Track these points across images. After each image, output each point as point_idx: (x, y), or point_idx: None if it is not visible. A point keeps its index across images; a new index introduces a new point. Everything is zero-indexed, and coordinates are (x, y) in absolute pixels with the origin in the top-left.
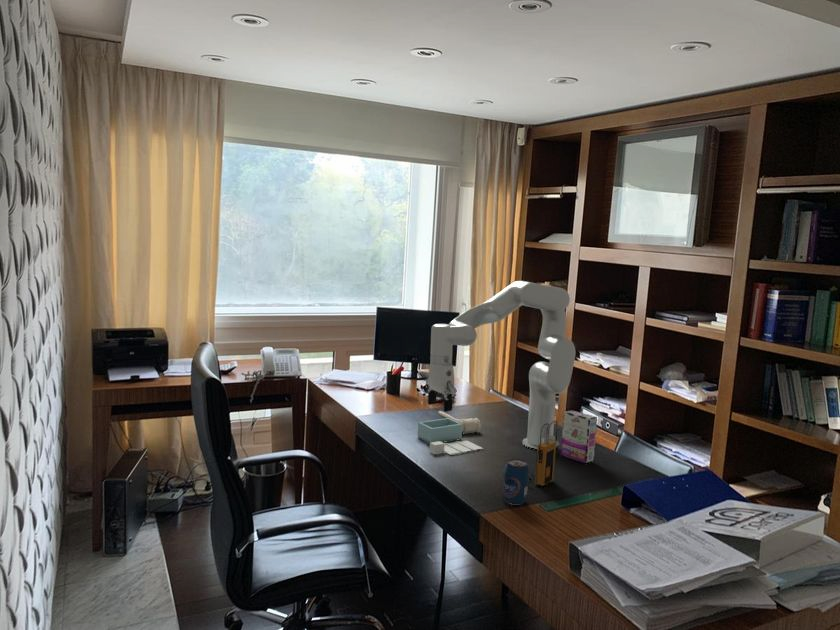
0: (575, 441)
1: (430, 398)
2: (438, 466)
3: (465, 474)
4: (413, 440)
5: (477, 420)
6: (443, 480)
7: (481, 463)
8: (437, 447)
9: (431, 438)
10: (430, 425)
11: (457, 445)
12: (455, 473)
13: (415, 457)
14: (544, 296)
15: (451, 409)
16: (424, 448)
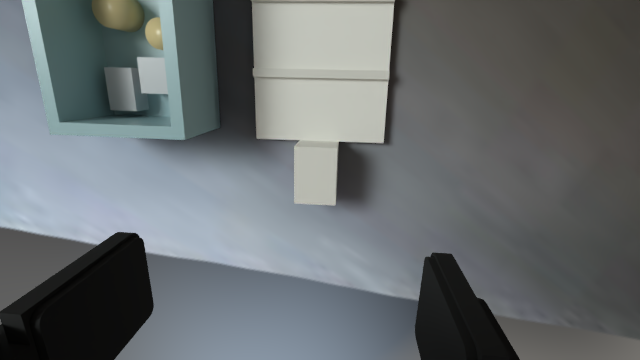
0: None
1: (108, 349)
2: (451, 252)
3: (584, 216)
4: (142, 161)
5: None
6: (568, 316)
7: (540, 68)
8: (336, 186)
9: (208, 129)
10: (67, 53)
11: (300, 27)
12: (549, 242)
13: (325, 268)
14: None
15: (452, 263)
16: (250, 179)
